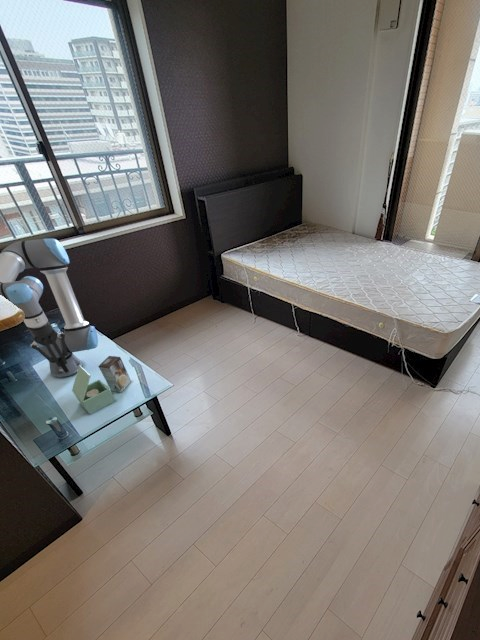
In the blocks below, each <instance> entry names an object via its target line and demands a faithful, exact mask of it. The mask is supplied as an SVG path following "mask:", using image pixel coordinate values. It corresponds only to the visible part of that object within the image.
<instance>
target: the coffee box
mask: <svg viewBox="0 0 480 640" xmlns="http://www.w3.org/2000/svg"><path fill="white" fill-rule="evenodd" d="M97 367H98V368H99V370H100V372H101V374H102V377H103V378H104V380H105V382H106V385H108V386H107V387H108V388H109V389H110V391H111V392H120V393H123V391H124V390H125V389H126V388H127V387H128V385H129V384H131V382H132V380H131V377H130V375H129V373H128V371H127V368H126V366H125V364H124V363H123V359H122V358H121V356H115V355H108V356H107V357H106V358H105V359H104V360H102V362H101V363H100V364H99V365H98V366H97Z"/></svg>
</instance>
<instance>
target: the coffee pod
mask: <svg viewBox="0 0 480 640" xmlns="http://www.w3.org/2000/svg"><path fill="white" fill-rule="evenodd" d="M97 394H99V391H98V390H97V389H93V390H90V391H88V392H87V393H86V396H87V397H88V398H91V397H93V396H95V395H97Z"/></svg>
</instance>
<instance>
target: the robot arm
mask: <svg viewBox="0 0 480 640" xmlns="http://www.w3.org/2000/svg"><path fill="white" fill-rule="evenodd" d="M69 264H70V258H69V256H68V253H67V251H66V249H65V247H64V246H63V245H62V243H61V242H60V241H59V240H58V239H56V238H40V239H39V238H38V239H30V240H20V241H19V240H18V241H16V242H13V243H11V244H9V245H8V246H6V247H5V248H4V249H3V250H1V252H0V295H2V296H4V297H5V298H6V299H8V300H9V301H11V302H12V303H13V304H14V305H16V306H17V307H18V308H20V309H22V310H23V311H24V313H25V315H26V317H25V319H24V321H23V323H24V324H25V326H26V327H27V329H28V331H29V332H30V334H31V336H32V337H33V342H31V343H29V346H30V347H31V348H32V349H33V350H35V351H37V352H38V353H40V355H42V356H43V357H44V358H45V359H46V360H47V361H48V362H49V363H48V365H49V370H50V371H49V372H50V373H51V374H52V376H53V377H55V378H58V379H59V378H68V377H71V376H74V375H76V374H77V371H78V367H79V366H82V367H83V368H84V363H83V362H82V361H81V359H80V358H78V357H77V355H76V354H74V353H78V352H83V351H84V352H85V351H89V350H93V349H96V348H98V346H99V338H98V336H99V335H98V332H97V329H96V328H95V326H94V325H91V324H90V322H89V321H87V320H86V319H85V318H84V315H83V312H82V309H81V308H80V307H81V306H80V305H79V302H78V300H77V298H76V294H75V292H74V290H73V287H72V284H71V282H70V279H69V277H68V274H67V270H68V269H69V267H68V265H69ZM36 268H37V269H38V270H39V272H40V273H42V274H44V275H45V277H46V279H47V282H48V284H49V287H50V289H51V291H52V294H53V296H54V299H55V302H56V305H57V306H58V308H59V311H60V313H61V316H62V318H63V320H64V322H65V324H64V330H63V331H61V329H60V328H58V327H53V326H52V324H51V322H50V321H49V319H48V317H47V315H46V314H45V312H44V310H43V308H42V307H41V305H40V303H39V302H40V299H41V297H42V295H43V292H44V285H43V283H42V282H41V280H40V279H38V278H37V277H34V276H31V275H26V276H24V277H22V278H21V279H20V280H17V281H16V279H17V278H18V276H19V274H20V273H22V272H24V270H27V269H36ZM12 303H11V304H12ZM13 304H12V305H13ZM14 305H13V306H14Z"/></svg>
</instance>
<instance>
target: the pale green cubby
mask: <svg viewBox="0 0 480 640" xmlns="http://www.w3.org/2000/svg"><path fill="white" fill-rule="evenodd" d="M93 389H97V390H98V391H99V394H97V395H95V396H93V397H91V398H88V397H87V396H86V394H85V398H84V401H83V402H81V401H80V399H79V398H78V397H77V396H76V395H75V394H74V396H75V397H76V399H77V400H78V402H79V404H80V405H81V406H82V407H83V408H84V410H85V411H86V412H87V413H88V414H89V415H92V414H93V413H95V412H97V411H99V410H102V409H103V408H105V407H107V406H109V405H110V404H113V403H114V402H116V399H115V397H114V394H113V393H112V391H111V389H110V388H109V386H107V384H106V385H105V383H104V382H103V381H102V380H101V379H97V380H95V381H93V382H91V383H89V384H88V387H87V391H86V393H87V392H88V391H90V390H93Z"/></svg>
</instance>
